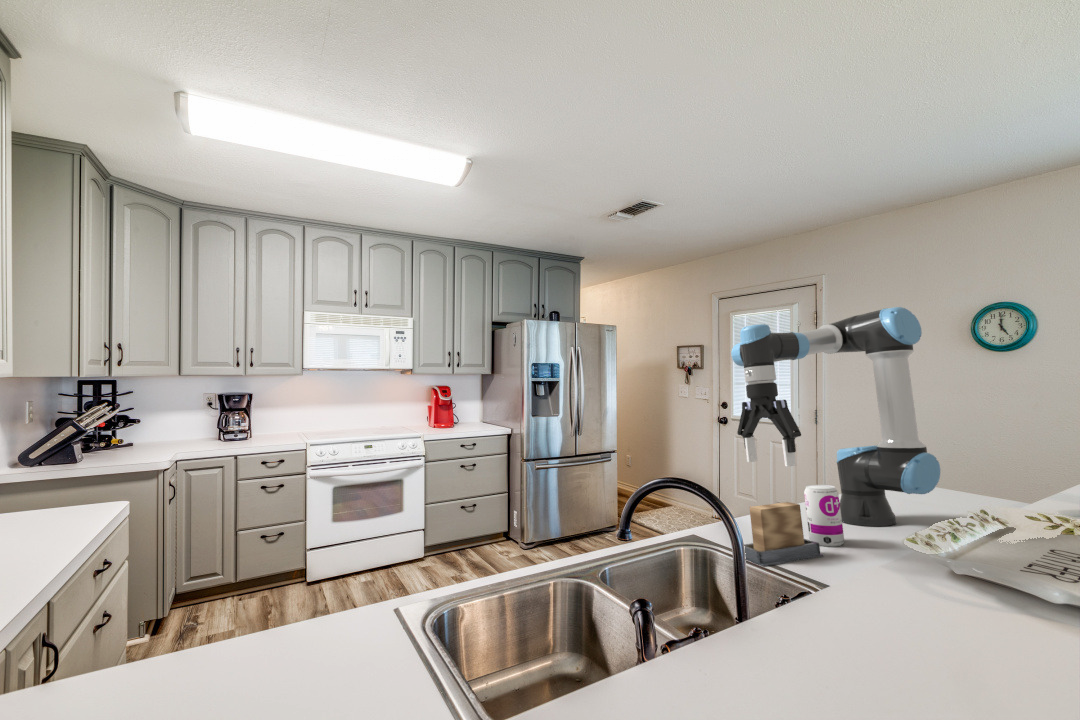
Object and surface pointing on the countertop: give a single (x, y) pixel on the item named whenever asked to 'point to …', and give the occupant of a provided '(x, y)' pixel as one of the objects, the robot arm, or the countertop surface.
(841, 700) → the countertop surface
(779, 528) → the panel
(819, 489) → the supplement can
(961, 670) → the countertop surface
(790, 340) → the robot arm
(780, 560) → the track
